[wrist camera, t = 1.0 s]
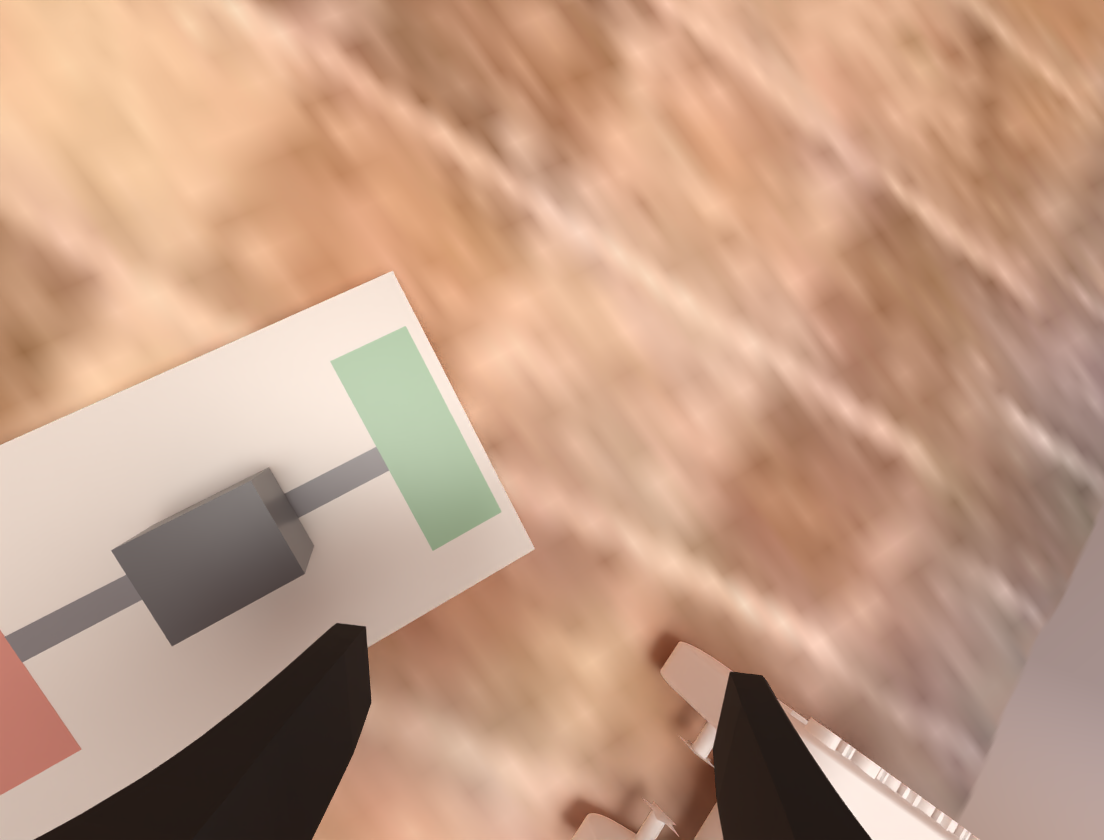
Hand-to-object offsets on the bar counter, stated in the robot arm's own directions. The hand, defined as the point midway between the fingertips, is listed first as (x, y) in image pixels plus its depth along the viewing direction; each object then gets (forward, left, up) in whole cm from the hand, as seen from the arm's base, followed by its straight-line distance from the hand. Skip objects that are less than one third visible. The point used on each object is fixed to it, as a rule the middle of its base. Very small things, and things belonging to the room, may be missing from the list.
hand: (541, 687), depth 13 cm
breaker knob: (-6, +4, -12) cm, 14 cm away
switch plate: (-7, +4, -15) cm, 17 cm away
